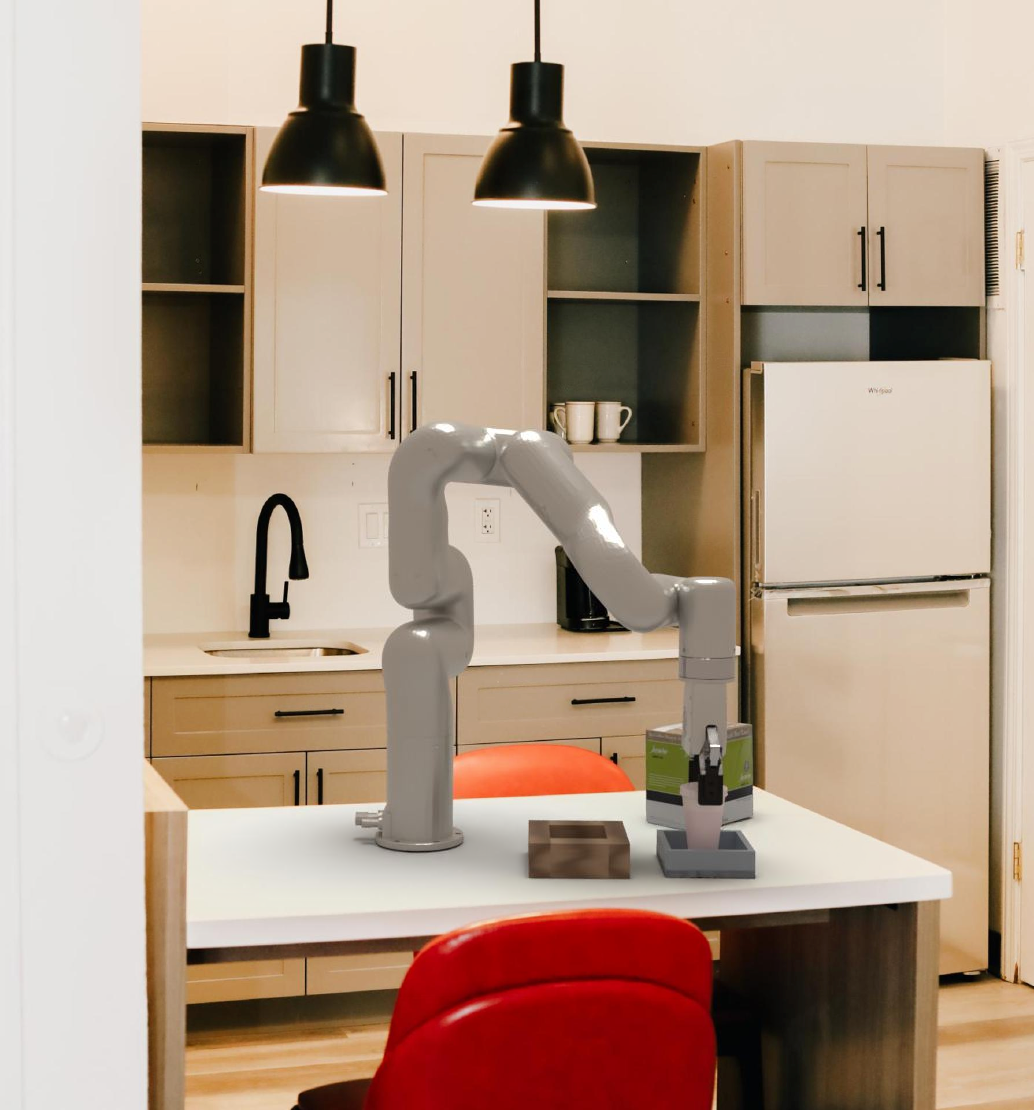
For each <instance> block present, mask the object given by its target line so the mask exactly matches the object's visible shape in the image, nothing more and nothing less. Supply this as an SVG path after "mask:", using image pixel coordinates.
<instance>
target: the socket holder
mask: <svg viewBox="0 0 1034 1110" xmlns="http://www.w3.org/2000/svg"><path fill="white" fill-rule="evenodd" d="M527 827H528V830H527V831H528V835H527V837H528V838H527V839H528V840H527V841H528V844H527V846H528V848H527V854H528V856H527V857H528V859H527V860H528V878H529V879H532V878H533V879H610V880H611V879H612V880H614V879H624V880H625V879H627V880H628V879H631V875H630V873H631V843H630V840H629V836H628V832H627V831H626V830H627V829H626V827H625V825H624V822H623V820H583V819H582V820H574V819H573V820H568V819H566V820H565V819H564V820H563V819H562V820H561V819H560V820H557V819H554V820H553V819H528V826H527Z"/></svg>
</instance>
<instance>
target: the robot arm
mask: <svg viewBox="0 0 1034 1110" xmlns="http://www.w3.org/2000/svg"><path fill="white" fill-rule="evenodd" d="M448 483H460V484H472V485H473V484H475V485H483V486H495V487H504V488H512V489H513V488H514V489H515V491H516V492H517V494H518V495H519V496H520V497H521V498H522V500H523V501H525V503H526V504H527V505H528V507H530V509H531V510H532V511H533V512H534V513H535V515H536V516H537V517H538V518H539V520H541V522H542V523H543V524H544V525H545V526H546V527H547V529H548V530H549V531H550V532H551V534H552V535H553V536H554V537H555V539H556V540H557V541H558V542H559V543H560V545H561V547H562V549H563V551H564V553H565V554H566V556H567V557H568V559H569V561H570V562H571V563H572V565H573V567H574V569H576V571H577V573H578V574H579V576H580V577H581V579H582V580H583V582H584V583H585V585H587V588H589V589H590V591H591V592H592V594H593V595H594V596H595V597H596V598H597V600H599V602H600V603H601V605H603V606H604V607H605V608H606V610H607V611H608V612H609V613H610V614H611V616H612V617H613V618H614V619H615V620H616V621H617V622H618V624H620V625H622V626H623V627H624V628H626V630H629V631H632V632H635V633H638V634H648V633H651V632H654V631H655V632H656V631H657V630H660V629H664V628H670V627H678V669H677V670H678V673H677V675H678V681H681V682H684V687H683V697H682V698H683V700H682V702H683V703H682V739H681V744H682V747H683V749H684V750H685V752H686V753H687V754H688V755H689V756H690V760H689V769H688V783H691V782H698V804H699V805H701V806H721V805H722V804H723V769H722V759H721V758H722V757H723V756H724V755H725V754H726V742H727V721H728V685H727V684H730V683H734V682H736V646H737V644H736V635H737V633H736V632H737V630H736V629H737V587H736V584H735V583H734V581H733V580H732V579H730V578H728V577H721V576H692V577H683V576H682V577H681V576H675V575H670V574H669V575H668V574H665V573H664V574H663V573H650V571H648V569H647V568H646V567H645V565H643V564H642V562H640V560H639V559H638V558H637V556H636V555H635V554H634V553H633V552H632V550H630V548H629V547H628V545H627V544H626V543H625V541H624V540H623V538H622V536H621V535H620V532H619V531H618V528H617V527H616V524H615V521H614V515H613V511H612V508H611V506H610V505H609V503H608V501H607V500H606V499H605V498H604V496H602V494H601V493H600V492H599V491H598V490H597V488H595V486H594V485H593V484H592V483H591V481H590V480H589V479H588V478H587V477H586V476H585V475H584V474H583V472H582V471H581V470H580V469H579V467H577V465H576V464H575V463H574V454H573V452H572V449H571V447H570V445H569V444H568V441H566V440H565V439H564V438H563V437H562V436H561V435H559V434H557V433H555V432H553V431H549V430H543V429H539V428H523V429H521V430H520V429H519V430H517V429H506V428H498V427H489V426H488V427H487V426H479V425H474V424H473V425H472V424H468V423H463V422H459V421H455V420H440V421H438V420H437V421H434V422H433V421H432V422H431V423H427V424H424V425H422V426H420V427H419V428H417V429H415V430H413V431H412V432H411V433H410V434H408V435H407V436H406V437H405V438H403V439H402V441H401V442H400V443H399V444H398V446H397V448H396V449H395V451H394V452H393V455H392V457H391V460H390V463H389V467H388V473H387V502H388V503H387V504H388V525H387V526H388V527H387V530H388V532H387V539H388V540H387V541H388V543H387V545H388V586H389V591H390V594H391V596H392V598H393V599H394V601H395V602H396V603H397V604H398V605H400V607H403V608H405V609H407V610H412V611H413V612H412V613H413V614H412V616H413V619H412V621H408V622H405V623H403V624H401V625H399V626H398V627H397V628H395V629H394V630H393V631H392V632H391V633H389V635H388V638H387V639H386V641H385V643H384V646H383V648H382V654H381V673H382V678H383V685H384V693H385V694H384V695H385V706H386V708H385V710H386V714H385V715H386V717H385V718H386V728H385V731H386V802H385V803H386V804H385V806H384V809H382V810H381V809H379V810H377V812H369V811H355V816H354V818H355V819H354V823H355V826H361V828H363V829H365V828H369V829H371V828H378V830H377V831H375V834H374V841H375V843H376V844H377V845H379V846H381V847H383V848H386V849H391V850H397V851H405V852H429V851H440V850H447V849H450V848H455V847H457V846H459V845H460V844H462V843H463V842H464V837H465V836H464V832H463V831H462V830H461V829H460V828H458V827H455V826H454V708H453V698H452V694H451V688H450V680H451V679H453V678H455V677H457V676H459V675H461V674H462V673H463V672H464V671H465V670H466V669H467V667H468V666H469V665H470V662H471V661H472V658H473V654H474V648H475V610H474V608H475V606H474V602H475V601H474V598H475V597H474V577H473V572H472V568H471V565H470V562H469V561H468V559H467V557H466V556H465V554H464V553H463V552H462V551H461V550H460V549H458V548H457V547H455V546H454V545H451V544H449V540H450V539H449V511H448V504H447V501H446V496H445V491H446V490H445V489H446V487H447V484H448Z"/></svg>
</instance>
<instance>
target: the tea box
mask: <svg viewBox="0 0 1034 1110" xmlns="http://www.w3.org/2000/svg"><path fill="white" fill-rule="evenodd" d="M681 739H682V722H676V723H671V724H667V725H661V726H656V727H651V728H647V729H646V728H645V818H646V819H645V821H646V822H647V824H653V825H656V826H657V825H658V826H661V827H667V828H671V829H675V830H686V826H685V817H684V808H683V798H682V795H681V794H680V786H681V785H682V784H685V783H688V769H689V760H690V756H689V755H688V754H687V753H686V752H685V750H684V749H683V747H682V744H681ZM753 749H754V747H753V724H751V723H742V722H734V721H728V720H727V742H726V754H725V755H724V756H723V757H722V758H721V759H722V769H723V785H724V786H726V787H727V794H728V795H727V796H726V797H725V802H724V809H723V817H722V824H721V826H722V825H725V824H729V823H733V822H735V821H739V820H742V819H746V818H750V817H753V816H754V793H753V792H754V773H753V772H754V766H753V765H754V760H753V758H754V756H753V753H754V752H753Z"/></svg>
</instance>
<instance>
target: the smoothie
mask: <svg viewBox="0 0 1034 1110" xmlns="http://www.w3.org/2000/svg"><path fill="white" fill-rule="evenodd" d="M680 794H681V795H682V798H683V808H684V817H685V826H686V836H687V845H688V849H703V850H718V846H719V838H720V831H721V830H722V825H721V824H722V817H723V809H724V802H725V797H726V796H727V795H728V794H727V787H726V786H724V785H723V804H722V805H721V806H701V805H699V804H698V782H691V783H685V784H682V785H681V786H680Z"/></svg>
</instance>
